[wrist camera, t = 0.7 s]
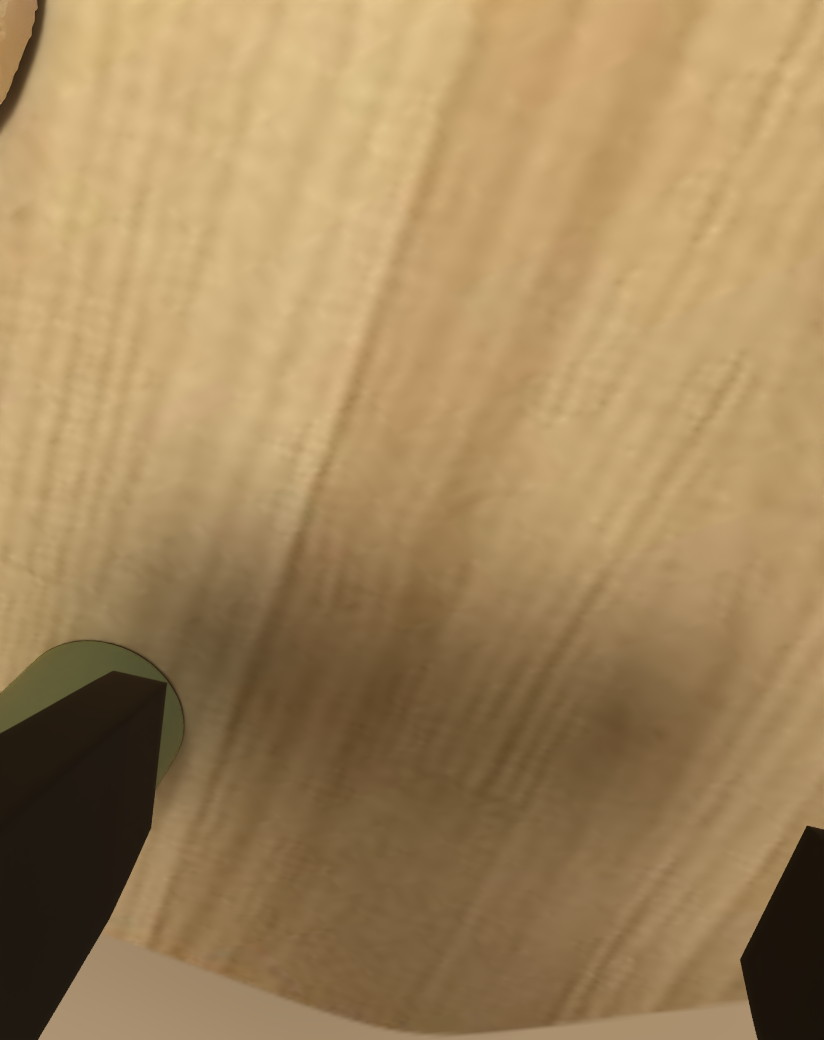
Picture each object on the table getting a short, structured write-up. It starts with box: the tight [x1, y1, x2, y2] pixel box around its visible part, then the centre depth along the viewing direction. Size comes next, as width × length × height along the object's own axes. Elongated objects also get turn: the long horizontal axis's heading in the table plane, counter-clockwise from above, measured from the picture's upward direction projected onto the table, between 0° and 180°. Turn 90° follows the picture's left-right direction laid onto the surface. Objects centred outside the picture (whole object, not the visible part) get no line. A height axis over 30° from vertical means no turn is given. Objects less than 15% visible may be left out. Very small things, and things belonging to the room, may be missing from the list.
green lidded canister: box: [0, 641, 183, 790], centre depth 15 cm, size 4×4×6 cm
